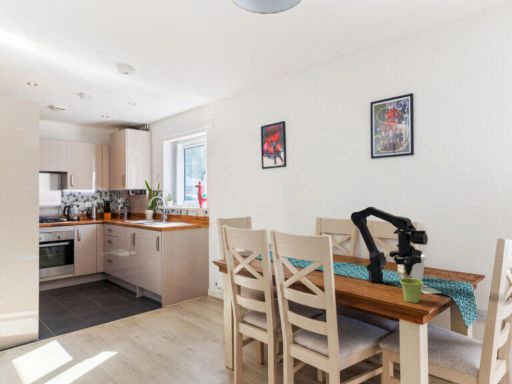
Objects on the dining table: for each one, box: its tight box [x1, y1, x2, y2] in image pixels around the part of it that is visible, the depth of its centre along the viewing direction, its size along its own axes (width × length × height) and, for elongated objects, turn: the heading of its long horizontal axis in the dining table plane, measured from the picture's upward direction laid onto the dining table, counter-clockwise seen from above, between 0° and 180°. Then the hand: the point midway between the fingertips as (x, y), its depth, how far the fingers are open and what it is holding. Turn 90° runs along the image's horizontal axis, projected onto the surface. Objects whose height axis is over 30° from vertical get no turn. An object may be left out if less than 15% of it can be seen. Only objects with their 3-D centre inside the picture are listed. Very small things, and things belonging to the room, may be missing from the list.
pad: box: [421, 287, 443, 295], centre depth 158 cm, size 8×8×1 cm
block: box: [397, 264, 413, 279], centre depth 165 cm, size 5×5×6 cm
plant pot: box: [399, 278, 424, 304], centre depth 145 cm, size 9×9×9 cm
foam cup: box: [410, 254, 426, 281], centre depth 179 cm, size 10×9×13 cm
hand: (405, 274), depth 165 cm, fingers closed on block, 5 cm apart
